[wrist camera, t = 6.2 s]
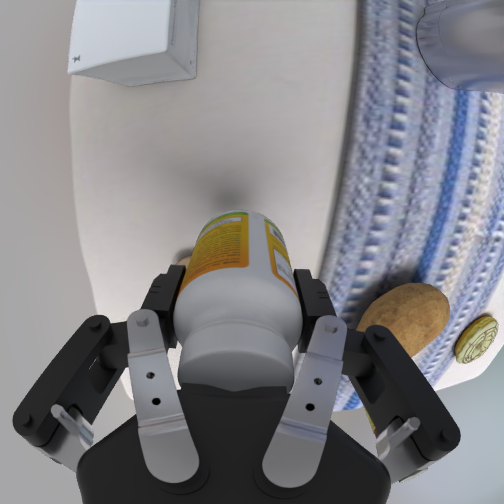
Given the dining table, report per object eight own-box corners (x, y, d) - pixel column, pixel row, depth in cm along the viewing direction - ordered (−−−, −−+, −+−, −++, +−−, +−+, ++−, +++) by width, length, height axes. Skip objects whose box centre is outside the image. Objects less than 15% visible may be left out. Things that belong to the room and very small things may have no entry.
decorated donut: (448, 362, 40) (456, 376, 37) (454, 330, 35) (464, 345, 32) (485, 338, 38) (494, 350, 35) (494, 303, 33) (505, 315, 30)
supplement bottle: (187, 270, 18) (149, 401, 9) (212, 194, 15) (168, 310, 7) (264, 294, 19) (275, 426, 10) (299, 225, 16) (347, 354, 8)
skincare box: (200, 78, 19) (168, 52, 10) (129, 87, 19) (61, 78, 10) (204, -18, 14) (184, -79, 5) (136, -7, 14) (86, -51, 5)
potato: (319, 324, 32) (334, 376, 25) (409, 248, 27) (447, 288, 20) (358, 354, 35) (375, 398, 28) (435, 291, 31) (466, 329, 24)
